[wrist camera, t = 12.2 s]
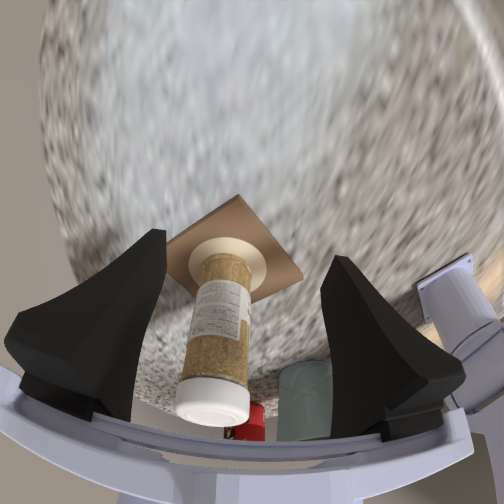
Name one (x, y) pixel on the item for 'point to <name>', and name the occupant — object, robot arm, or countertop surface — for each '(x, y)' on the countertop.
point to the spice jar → (218, 346)
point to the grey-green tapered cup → (305, 402)
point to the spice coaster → (232, 250)
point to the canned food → (249, 426)
